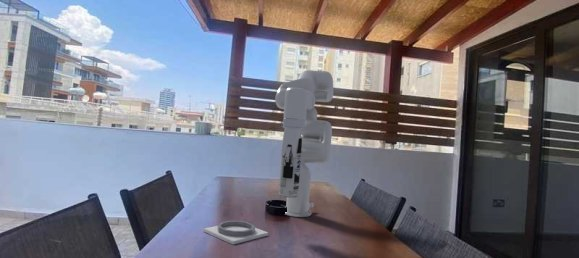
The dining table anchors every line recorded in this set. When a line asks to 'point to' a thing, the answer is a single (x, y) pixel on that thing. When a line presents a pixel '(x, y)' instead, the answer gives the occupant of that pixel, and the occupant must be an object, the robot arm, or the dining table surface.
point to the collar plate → (235, 239)
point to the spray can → (292, 185)
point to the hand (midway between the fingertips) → (289, 176)
